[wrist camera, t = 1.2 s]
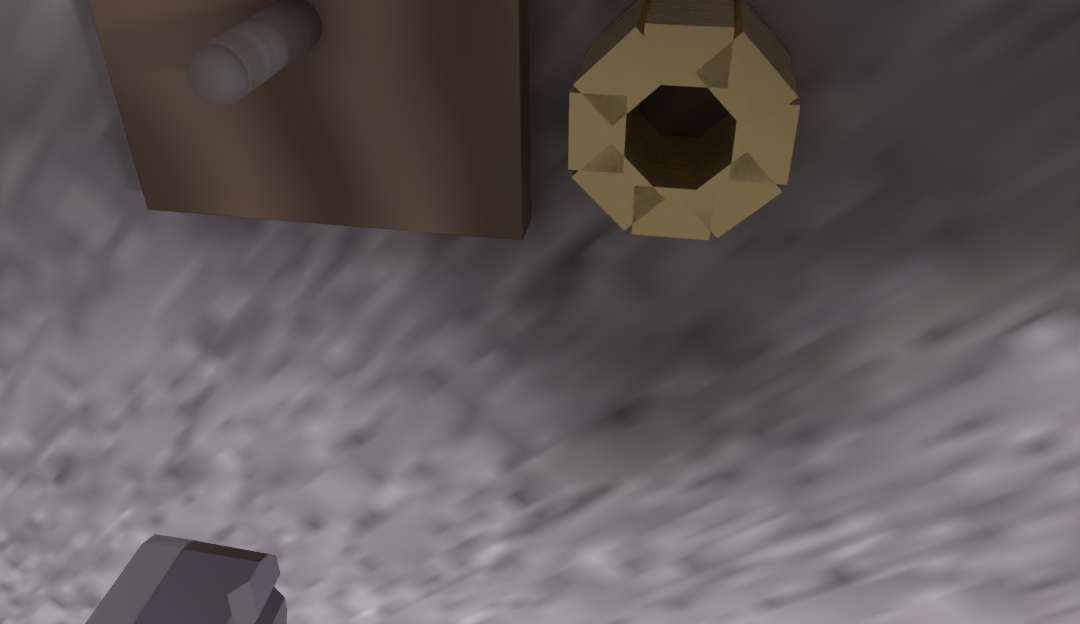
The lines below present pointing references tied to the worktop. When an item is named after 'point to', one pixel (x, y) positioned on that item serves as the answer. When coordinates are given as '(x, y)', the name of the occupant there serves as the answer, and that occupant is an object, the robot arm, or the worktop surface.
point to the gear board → (328, 109)
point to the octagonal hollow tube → (678, 161)
